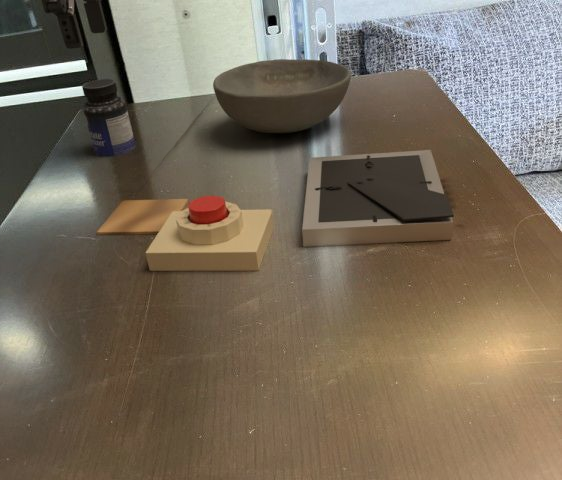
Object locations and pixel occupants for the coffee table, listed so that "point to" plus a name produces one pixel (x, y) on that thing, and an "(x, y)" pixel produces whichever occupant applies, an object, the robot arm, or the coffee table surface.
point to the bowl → (282, 93)
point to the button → (207, 210)
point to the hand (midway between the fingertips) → (87, 39)
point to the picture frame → (375, 200)
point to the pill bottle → (107, 118)
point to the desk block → (212, 242)
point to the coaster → (140, 216)
